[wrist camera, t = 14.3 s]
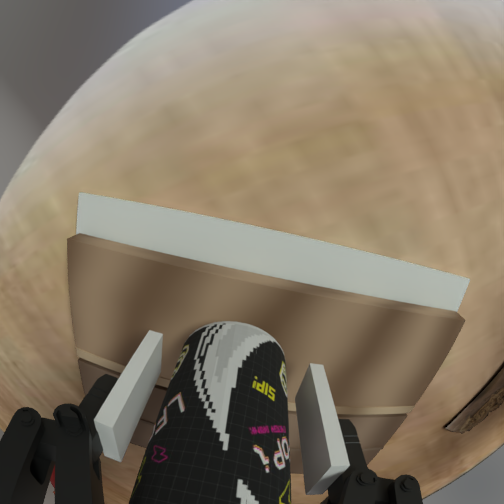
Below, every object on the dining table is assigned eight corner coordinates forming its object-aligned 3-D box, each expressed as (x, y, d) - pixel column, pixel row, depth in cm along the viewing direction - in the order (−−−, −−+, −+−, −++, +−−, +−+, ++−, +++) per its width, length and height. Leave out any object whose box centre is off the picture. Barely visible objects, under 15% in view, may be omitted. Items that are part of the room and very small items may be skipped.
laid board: (401, 404, 19) (407, 416, 17) (357, 461, 21) (360, 472, 20) (86, 349, 18) (77, 360, 17) (99, 418, 21) (93, 429, 19)
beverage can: (208, 294, 14) (127, 544, 3) (304, 339, 15) (328, 564, 4) (172, 362, 16) (110, 541, 5) (254, 395, 17) (242, 570, 6)
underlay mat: (467, 278, 16) (470, 279, 16) (364, 454, 22) (365, 456, 21) (81, 192, 15) (79, 192, 15) (95, 409, 21) (94, 411, 20)
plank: (455, 311, 16) (465, 321, 15) (403, 402, 19) (409, 413, 17) (79, 233, 15) (66, 239, 14) (86, 346, 18) (77, 357, 17)
